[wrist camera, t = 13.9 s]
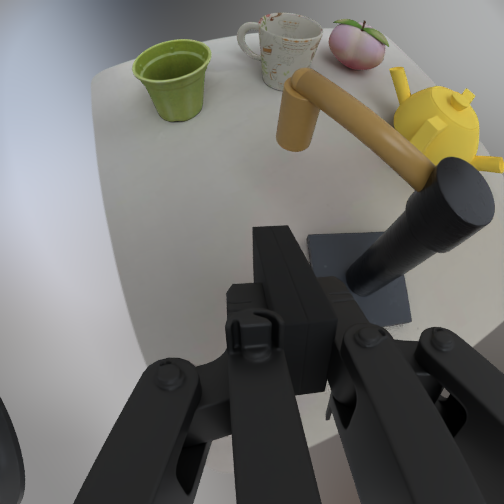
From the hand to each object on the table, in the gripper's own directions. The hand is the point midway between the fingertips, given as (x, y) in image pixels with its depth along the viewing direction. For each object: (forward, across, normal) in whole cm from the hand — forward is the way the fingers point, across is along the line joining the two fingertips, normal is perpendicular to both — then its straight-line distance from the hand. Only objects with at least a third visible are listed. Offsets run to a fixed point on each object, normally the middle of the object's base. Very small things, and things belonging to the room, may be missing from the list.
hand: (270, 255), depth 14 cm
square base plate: (+14, -11, +10) cm, 20 cm away
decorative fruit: (+39, -19, -15) cm, 46 cm away
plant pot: (+32, +8, -8) cm, 33 cm away
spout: (+9, -8, 0) cm, 12 cm away
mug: (+36, -5, -12) cm, 39 cm away
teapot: (+26, -26, -2) cm, 37 cm away
